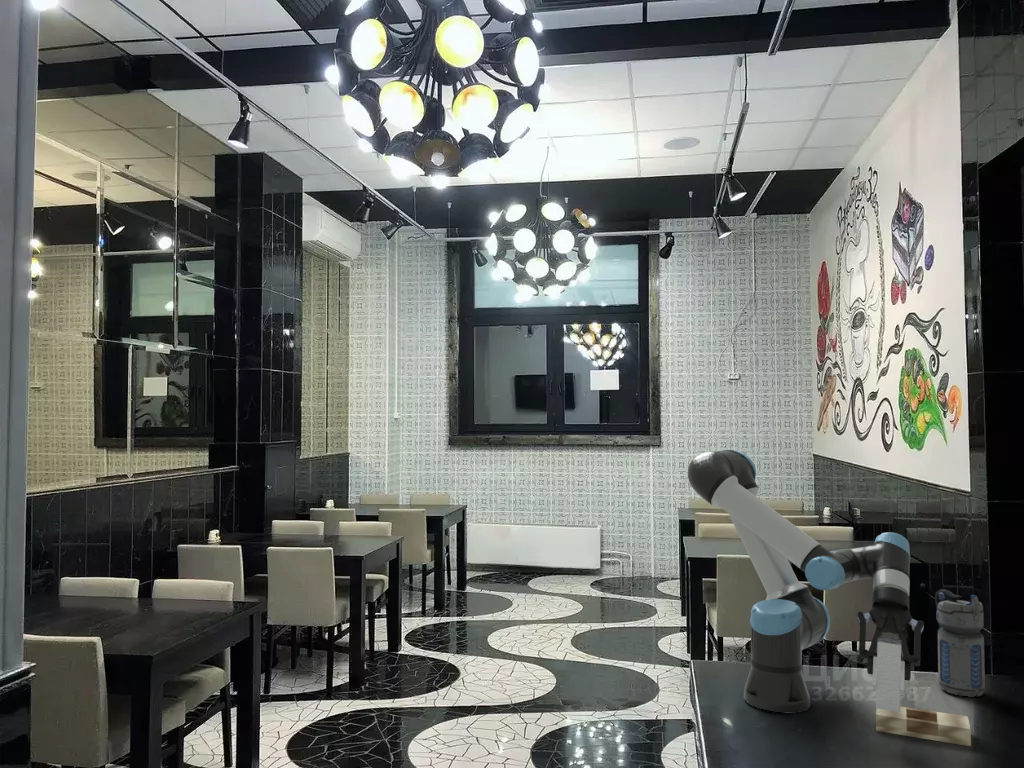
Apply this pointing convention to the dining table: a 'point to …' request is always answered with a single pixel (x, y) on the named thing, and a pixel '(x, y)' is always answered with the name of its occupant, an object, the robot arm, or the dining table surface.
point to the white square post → (888, 674)
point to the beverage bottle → (960, 644)
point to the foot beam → (925, 725)
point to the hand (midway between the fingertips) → (888, 690)
